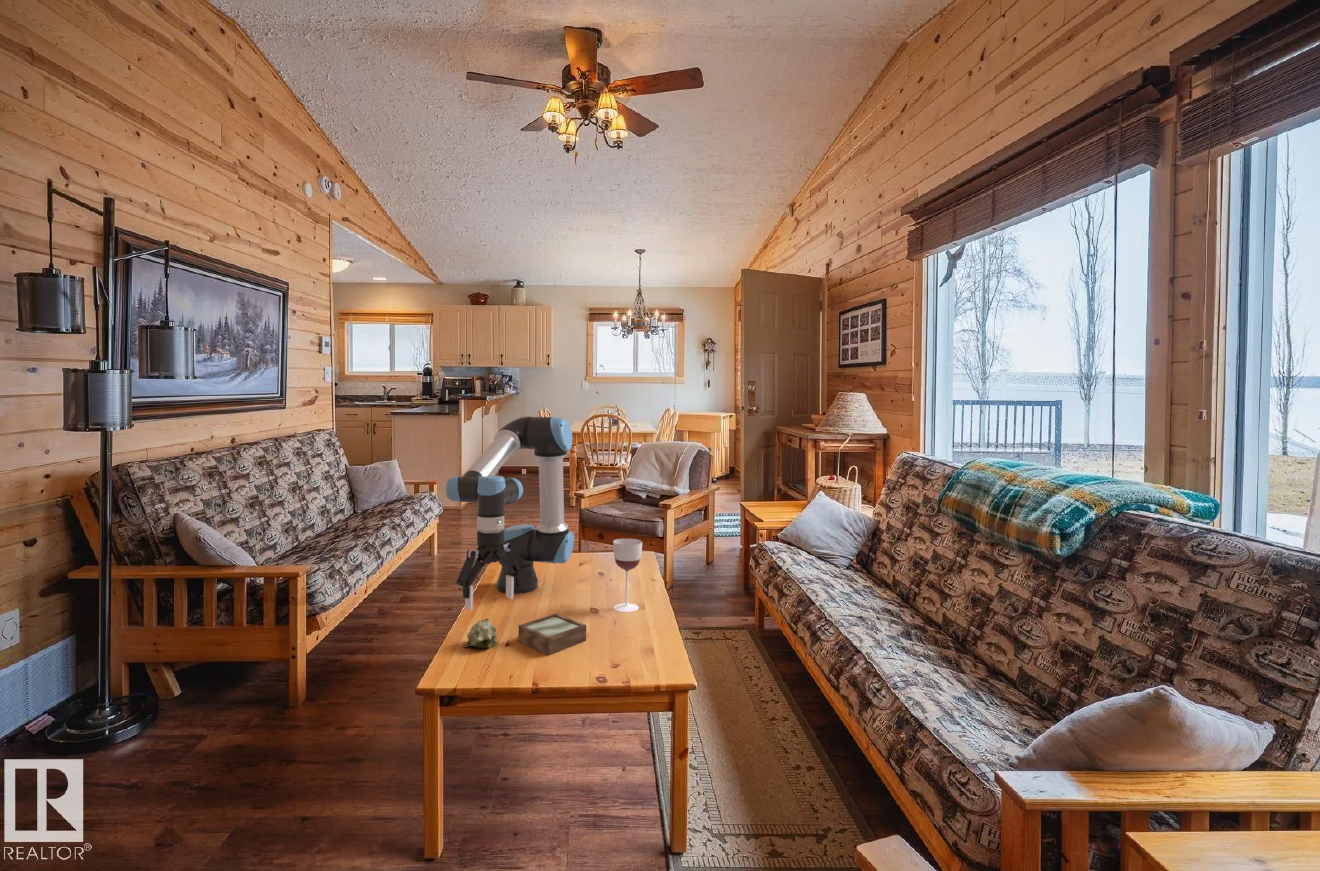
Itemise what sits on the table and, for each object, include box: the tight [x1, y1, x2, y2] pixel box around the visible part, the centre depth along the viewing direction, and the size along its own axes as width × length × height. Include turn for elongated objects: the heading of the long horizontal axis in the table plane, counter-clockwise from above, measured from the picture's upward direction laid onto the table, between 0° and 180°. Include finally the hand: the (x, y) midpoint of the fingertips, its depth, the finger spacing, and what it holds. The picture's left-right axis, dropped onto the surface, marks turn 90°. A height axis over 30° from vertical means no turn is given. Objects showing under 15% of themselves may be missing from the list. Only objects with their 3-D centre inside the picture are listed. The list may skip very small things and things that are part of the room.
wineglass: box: [612, 538, 643, 613], centre depth 209 cm, size 9×10×23 cm
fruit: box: [464, 618, 498, 650], centre depth 175 cm, size 9×9×8 cm
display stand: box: [517, 612, 587, 656], centre depth 179 cm, size 14×14×5 cm
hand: (489, 603), depth 175 cm, fingers open, 13 cm apart
